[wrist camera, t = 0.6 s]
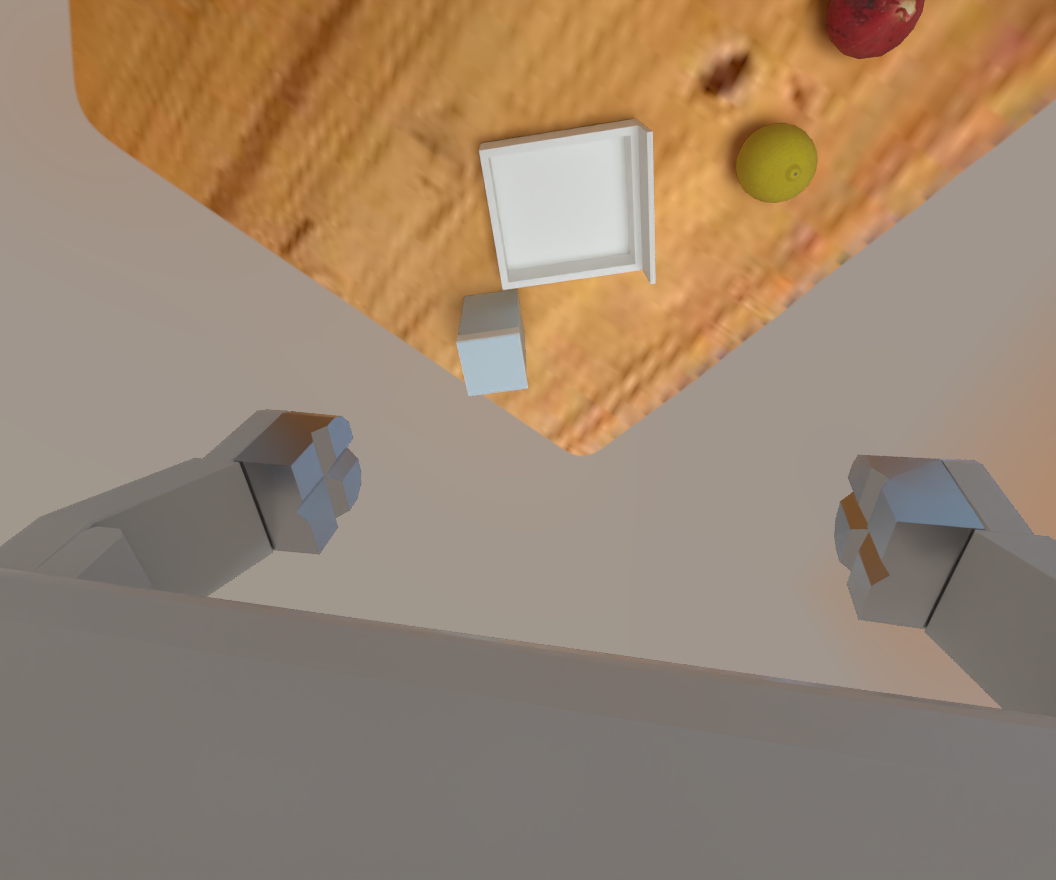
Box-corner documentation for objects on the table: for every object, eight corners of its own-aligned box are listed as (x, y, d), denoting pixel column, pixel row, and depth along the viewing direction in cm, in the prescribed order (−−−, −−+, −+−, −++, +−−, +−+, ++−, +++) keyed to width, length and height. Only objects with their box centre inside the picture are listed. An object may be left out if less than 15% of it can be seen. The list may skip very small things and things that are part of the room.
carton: (463, 295, 56) (456, 342, 48) (517, 288, 56) (519, 333, 48) (474, 345, 59) (468, 396, 51) (525, 337, 59) (527, 388, 50)
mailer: (480, 143, 49) (476, 159, 43) (635, 118, 48) (652, 131, 42) (503, 276, 55) (502, 305, 49) (640, 256, 54) (655, 283, 48)
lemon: (746, 203, 52) (780, 229, 45) (711, 152, 49) (741, 172, 43) (803, 155, 50) (848, 175, 43) (769, 100, 47) (811, 112, 41)
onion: (794, 42, 45) (843, 45, 39) (835, -52, 42) (896, -67, 36) (861, 66, 46) (920, 72, 40) (906, -26, 43) (978, -34, 36)
